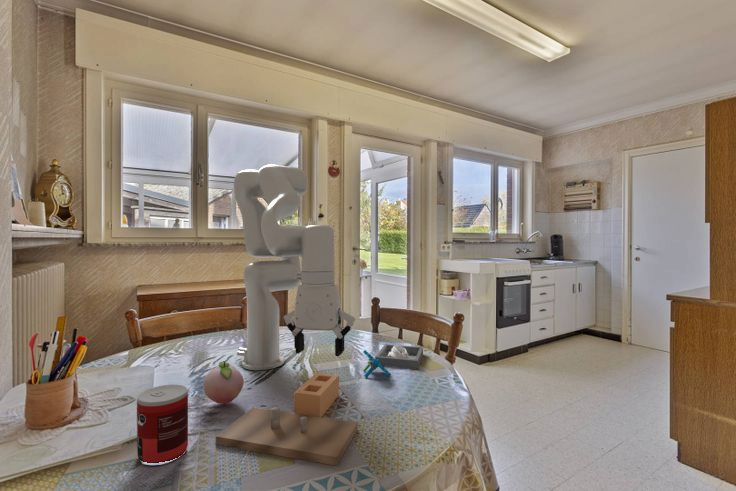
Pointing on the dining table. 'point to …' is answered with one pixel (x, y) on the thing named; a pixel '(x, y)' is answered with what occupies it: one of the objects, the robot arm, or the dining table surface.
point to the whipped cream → (398, 352)
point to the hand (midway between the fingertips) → (319, 353)
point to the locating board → (290, 435)
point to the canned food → (162, 423)
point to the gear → (373, 365)
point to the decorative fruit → (223, 383)
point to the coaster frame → (400, 361)
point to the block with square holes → (316, 394)
